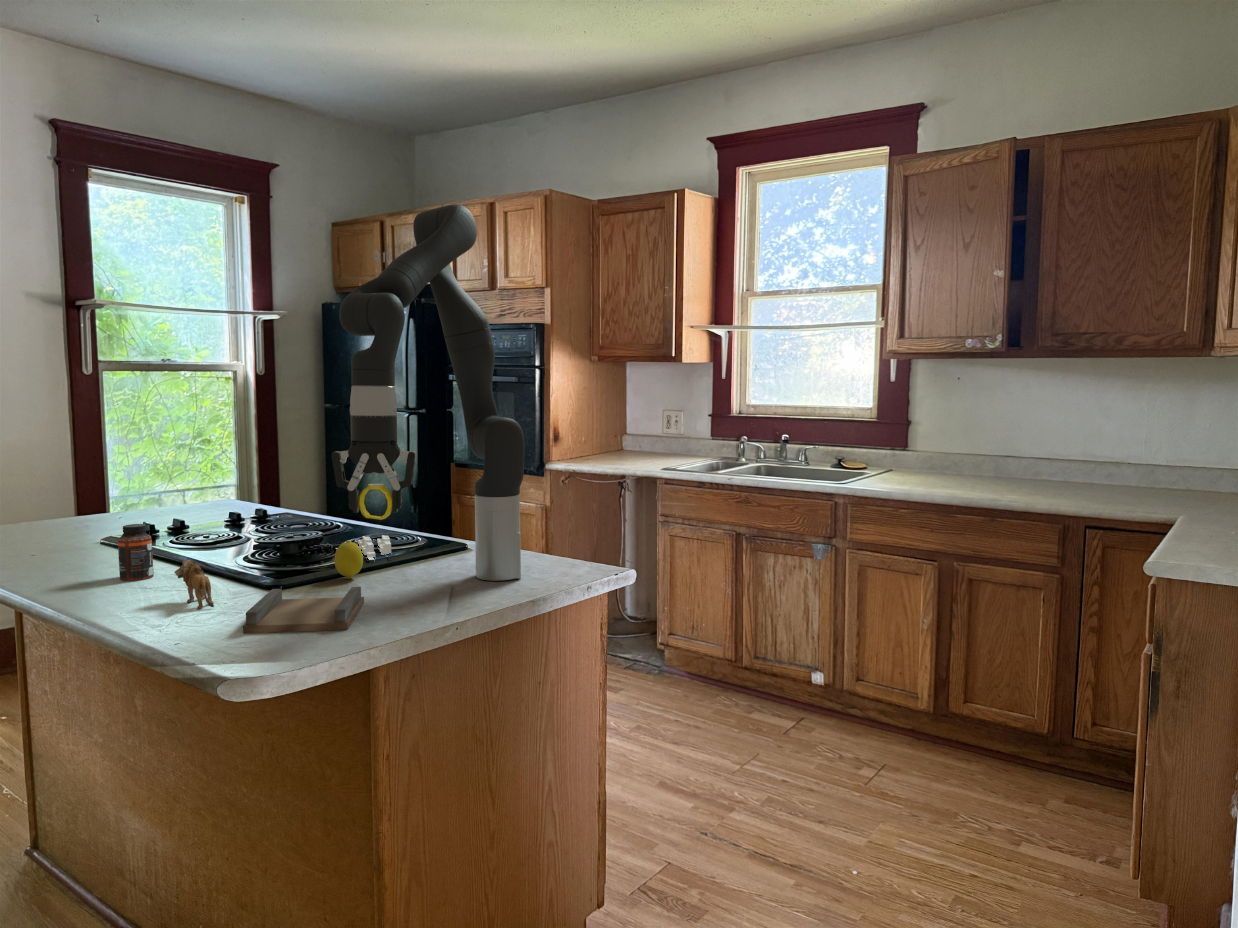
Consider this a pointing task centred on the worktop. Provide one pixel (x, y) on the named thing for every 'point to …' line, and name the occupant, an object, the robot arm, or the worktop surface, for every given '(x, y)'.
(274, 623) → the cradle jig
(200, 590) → the lion figurine
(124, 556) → the supplement bottle
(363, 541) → the modular blocks
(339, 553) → the lemon
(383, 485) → the watch
